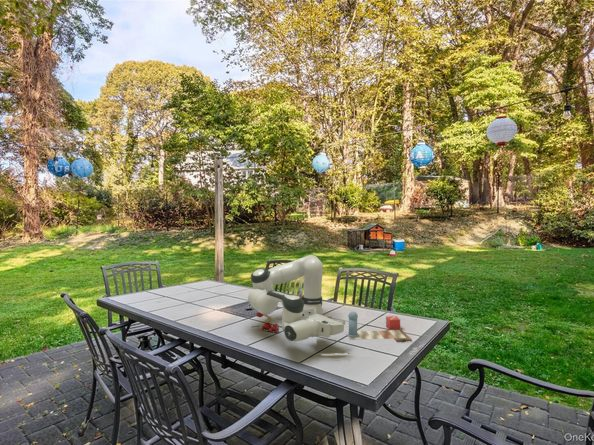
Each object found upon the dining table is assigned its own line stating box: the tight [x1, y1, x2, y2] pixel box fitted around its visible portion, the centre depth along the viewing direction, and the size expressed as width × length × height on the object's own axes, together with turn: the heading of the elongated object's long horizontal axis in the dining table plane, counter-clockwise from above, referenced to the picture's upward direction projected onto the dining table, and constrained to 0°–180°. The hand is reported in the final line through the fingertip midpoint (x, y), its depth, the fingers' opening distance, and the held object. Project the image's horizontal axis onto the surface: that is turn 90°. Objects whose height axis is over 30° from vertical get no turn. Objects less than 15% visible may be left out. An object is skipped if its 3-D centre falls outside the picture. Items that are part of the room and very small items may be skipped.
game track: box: [345, 328, 413, 343], centre depth 177 cm, size 34×14×1 cm, turn 94°
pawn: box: [347, 311, 359, 338], centre depth 176 cm, size 6×6×13 cm
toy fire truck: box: [256, 312, 280, 334], centre depth 187 cm, size 3×14×10 cm, turn 60°
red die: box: [385, 315, 401, 330], centre depth 190 cm, size 6×6×6 cm
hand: (337, 319), depth 167 cm, fingers open, 8 cm apart
